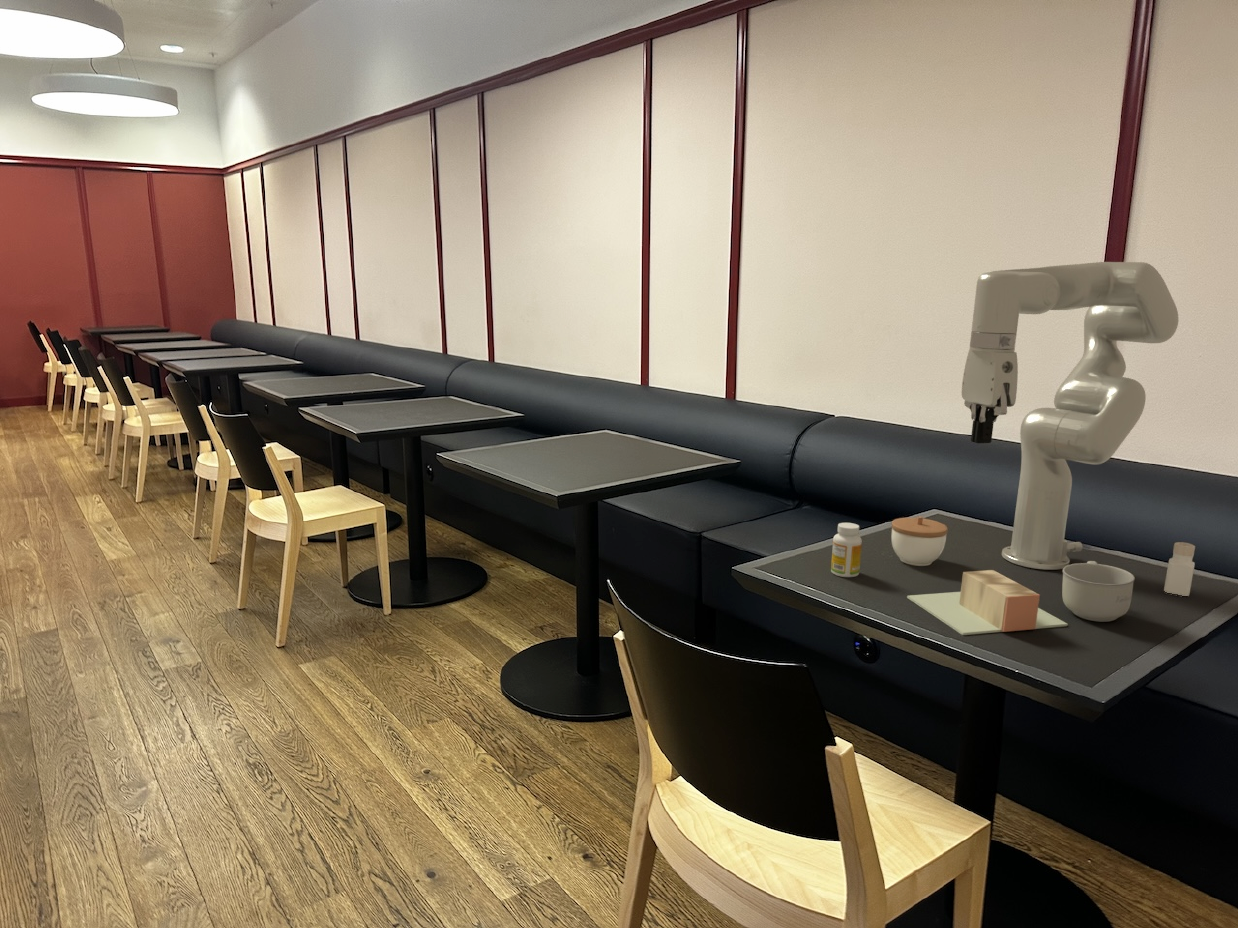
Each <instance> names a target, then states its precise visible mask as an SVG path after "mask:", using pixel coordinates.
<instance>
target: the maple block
mask: <svg viewBox="0 0 1238 928" xmlns="http://www.w3.org/2000/svg"><path fill="white" fill-rule="evenodd" d="M960 592H961V594H960V602H959V604H960V605H961V606H963V607H965V608H966V609H968V610H969V611H971V612H973V613H974V614H976V615H978V616H979V617H981V618H982V619H984V620H986V621H987V622H989V623H990V624H992V625H994V626H995V627H997V628H998V629H1000V630H1002V631H1003V632H1002V633H1004V632H1005V633H1006V632H1015V631H1016V632H1017V631H1027V630H1029V631H1030V630H1036V629H1035V627H1036V620H1037V613H1038V608H1039V605H1040V596H1041V594H1039V593H1037V592H1035V591H1033V590H1032V589H1030V588H1028V587H1026V586H1025V585H1022V584H1020V583H1018V582H1017V581H1015V580H1014V579H1013V580H1012V579H1011V578H1009V577H1008V576H1007V577H1006V576H1005V575H1003V574H1001V573H999V572H997V571H996V570H994V569H987V570H974V571H962V578H961V587H960Z"/></svg>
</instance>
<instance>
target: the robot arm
mask: <svg viewBox="0 0 1238 928" xmlns="http://www.w3.org/2000/svg"><path fill="white" fill-rule="evenodd" d="M1083 308H1088V309H1087V310H1086V313H1085V315H1084V319H1083V348H1084V349H1083V354H1082V356H1081V358H1080V359H1079V361H1078V363H1077V364H1076V365H1074V366H1075V367H1073V369H1072V370H1071V371H1070V372H1069V374H1068V375H1067V376H1066V378H1065V379H1064V380H1063V381H1062V383H1061V384H1060V386H1059V388H1058V389H1057V391H1056V392H1055V395H1054V398H1053V399H1054V400H1053V404H1054V407H1040V408H1035V409H1033V410H1031V411H1029V412H1028V413H1027V414H1026V415H1025V416H1024V418H1023V420H1022V421H1021V425H1020V432H1019V437H1020V447H1021V449H1020V450H1021V462H1020V464H1021V465H1020V475H1019V483H1018V491H1017V497H1016V504H1015V506H1016V507H1015V513H1014V520H1013V521H1014V522H1013V529H1012V536H1011V545H1009V546H1005V547H1004V548H1002V550H1001V557H1002V558H1003V559H1005V560H1006V561H1008V562H1009V563H1011V564H1015V565H1018V566H1020V567H1025V568H1029V569H1030V568H1031V569H1037V570H1049V571H1053V570H1055V571H1056V570H1063V568H1064V567H1065V566H1068V565H1070V558H1069V556H1067V554H1069V553H1070V552H1081V551H1082V550H1083V544H1082V542H1081V541H1076V542H1075V541H1074V542H1073V541H1071V542H1069V541H1068V540H1066V539H1065V535H1066V526H1067V522H1068V521H1067V519H1068V513H1069V508H1070V507H1069V506H1070V501H1071V500H1070V499H1071V493H1072V487H1073V476H1072V473H1071V469H1070V467H1069V465H1068V462H1067V461H1072V462H1078V463H1082V464H1088V465H1102V464H1103V463H1105V462H1106V463H1107V461H1108V460H1110V459H1111V458H1112V456H1113V455H1114V454H1115V453H1116V451H1117V450H1118V449H1119V448H1120V446H1121V445H1122V444H1123V442H1124V441H1125V440H1126V438H1127V436H1128V435H1129V434H1130V433H1131V431H1132V429H1134V427H1136V425H1137V423H1138V422H1139V420H1140V418H1141V416H1142V414H1143V412H1144V409H1145V404H1146V390H1145V388H1144V387H1143V385H1142V384H1141V383H1140V382H1139V381H1138V380H1135V379H1134V378H1131V377H1125V376H1124V375H1125V373H1126V369H1127V365H1126V361H1125V358H1124V356H1123V354H1122V352H1121V351H1120V349H1119V348H1118V346H1117V341H1118V342H1129V343H1130V342H1132V343H1142V344H1144V343H1145V344H1161V343H1164V342H1167V341H1169V340H1170V339H1171V338H1172V337H1173V336H1174V335H1175V333H1176V331H1177V330H1178V327H1179V313H1178V311H1179V310H1178V308H1177V306H1176V303H1175V301H1174V297H1172V295H1171V292H1170V291H1169V288H1168V286H1167V284H1166V282H1165V280H1164V278H1163V277H1162V275H1161V274H1160V272H1159V271H1158V269H1156V268H1155V267H1154V265H1151V264H1150V263H1147V262H1142V261H1137V262H1135V261H1134V262H1133V261H1128V262H1127V261H1099V262H1098V261H1097V262H1088V263H1087V262H1086V263H1076V264H1063V265H1062V264H1060V265H1052V266H1051V265H1049V266H1042V267H1033V268H1032V267H1030V268H1019V269H1018V268H1017V269H1004V270H1003V269H1001V270H991V271H988V272H984V273H981V274H979V276H978V278H977V281H976V288H975V296H974V305H973V315H972V322H971V323H972V325H971V333H970V339H969V341H970V342H969V350H968V353H967V355H966V360H965V365H964V369H963V370H964V371H963V376H962V382H961V398H962V399H963V400H964V406H965V407H966V408H968V409H970V410H969V411H970V412H971V413H970V414H971V415H970V416H971V420H972V427H971V428H972V429H971V436H970V441H971V442H973V443H975V444H990V443H991V442H992V440H993V431H994V425H995V422H996V421H997V419H998V417H999V416H1004V415H1007V413H1008V408H1007V407H1009V408H1010V407H1013V406H1014V405H1015V404H1016V400H1017V391H1018V374H1019V373H1018V371H1019V370H1018V369H1019V368H1018V365H1019V363H1018V355H1017V352H1016V351H1015V348H1016V342H1017V332H1018V326H1019V325H1018V324H1019V316H1020V314H1021V315H1041V314H1044V313H1047V312H1049V311H1069V310H1070V311H1072V310H1077V309H1083Z"/></svg>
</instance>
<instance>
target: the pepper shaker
mask: <svg viewBox="0 0 1238 928" xmlns="http://www.w3.org/2000/svg"><path fill="white" fill-rule="evenodd" d="M1195 549H1196V546H1195V545H1194V544H1192V543H1189V542H1183V541H1181V542H1179V541H1177V542H1175V543H1174V545H1173V550H1172V551H1173V552H1172V553H1173V555H1172V557H1171V558H1169V560H1168V562H1167V563H1168V565H1167V568H1166V569H1167V571H1166V576H1165V581H1164V587H1163V591H1165V592H1167V593H1172V594H1178V595H1182V596H1188V597H1189V596H1190V593H1191V587H1192V581H1193V576H1194V571H1195V564H1196V563H1195V562H1194V561H1193V558H1194V555H1195ZM1165 592H1164V593H1165ZM1167 593H1166V594H1167ZM1172 594H1171V595H1172ZM1182 596H1181V597H1182Z"/></svg>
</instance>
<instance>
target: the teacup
mask: <svg viewBox="0 0 1238 928" xmlns="http://www.w3.org/2000/svg"><path fill="white" fill-rule="evenodd" d="M1134 582H1135V575H1134V574H1132V573H1131V572H1129V571H1127V570H1125V569H1123V568H1120V567H1116V566H1111V565H1107V564H1100V563H1098V562H1097V561H1095V560H1088V561H1087V562H1083V563H1082V562H1080V563H1077V562H1076V563H1072V564H1069V565H1068V566H1065V567H1064V568H1063V569H1062V586H1061V587H1062V588H1061V589H1062V590H1061V591H1062V593H1061V594H1062V595H1061V596H1062V601H1063V604H1064V605H1065V607H1067V609H1068V610H1070V611H1071V612H1072V613H1073V614H1074V615H1075V616H1076V617H1079V618H1081V619H1083V620H1087V621H1092V622H1098V623H1099V622H1101V623H1104V622H1106V623H1108V622H1113V621H1115V620H1117V619H1118V618H1120V617H1123V616H1124V615H1125V614H1127V612H1128V611H1129V609H1130V606H1131V602H1132V597H1133V590H1134Z"/></svg>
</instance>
